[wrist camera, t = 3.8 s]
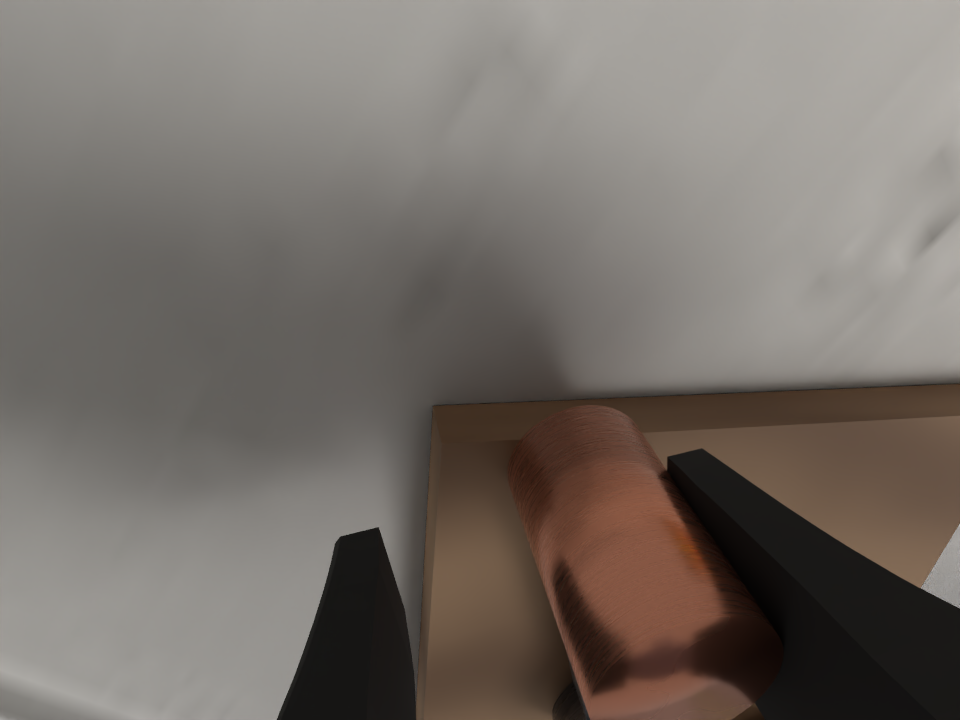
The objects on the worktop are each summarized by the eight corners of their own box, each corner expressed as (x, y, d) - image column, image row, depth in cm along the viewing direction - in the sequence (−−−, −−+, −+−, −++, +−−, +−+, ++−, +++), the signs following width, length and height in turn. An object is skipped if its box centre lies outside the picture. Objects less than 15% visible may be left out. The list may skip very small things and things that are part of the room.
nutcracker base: (781, 745, 23) (846, 857, 20) (410, 808, 20) (423, 948, 17) (981, 382, 15) (1130, 477, 12) (432, 405, 13) (463, 533, 10)
